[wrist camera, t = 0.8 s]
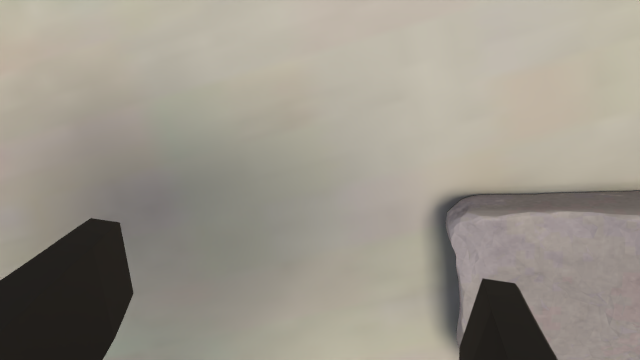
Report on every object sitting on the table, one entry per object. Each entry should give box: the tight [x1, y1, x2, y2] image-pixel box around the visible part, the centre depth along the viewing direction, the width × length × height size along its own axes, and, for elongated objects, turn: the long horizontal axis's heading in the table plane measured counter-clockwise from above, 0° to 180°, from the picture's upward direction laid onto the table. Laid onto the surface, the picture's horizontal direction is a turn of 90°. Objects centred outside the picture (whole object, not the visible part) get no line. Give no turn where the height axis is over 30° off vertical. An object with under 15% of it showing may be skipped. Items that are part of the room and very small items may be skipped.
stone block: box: [446, 191, 640, 360], centre depth 25 cm, size 12×5×10 cm
